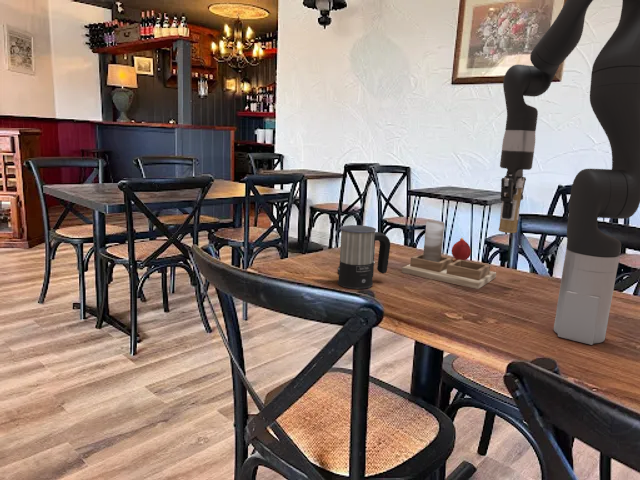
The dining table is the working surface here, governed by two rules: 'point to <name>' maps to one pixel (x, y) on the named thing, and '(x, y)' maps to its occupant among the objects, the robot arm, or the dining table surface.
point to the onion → (461, 250)
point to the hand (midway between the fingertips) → (509, 217)
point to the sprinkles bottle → (511, 223)
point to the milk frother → (361, 256)
